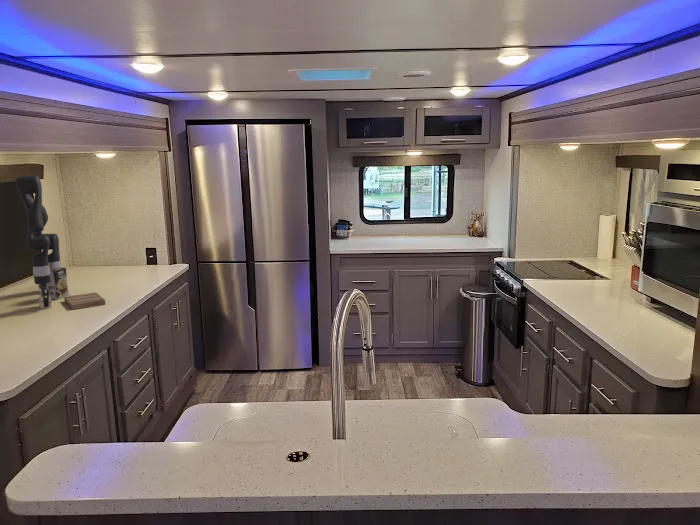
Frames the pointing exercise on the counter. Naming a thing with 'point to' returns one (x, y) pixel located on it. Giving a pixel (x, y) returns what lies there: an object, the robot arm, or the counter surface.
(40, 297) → the maple cube
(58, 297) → the coffee box
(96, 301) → the walnut base
